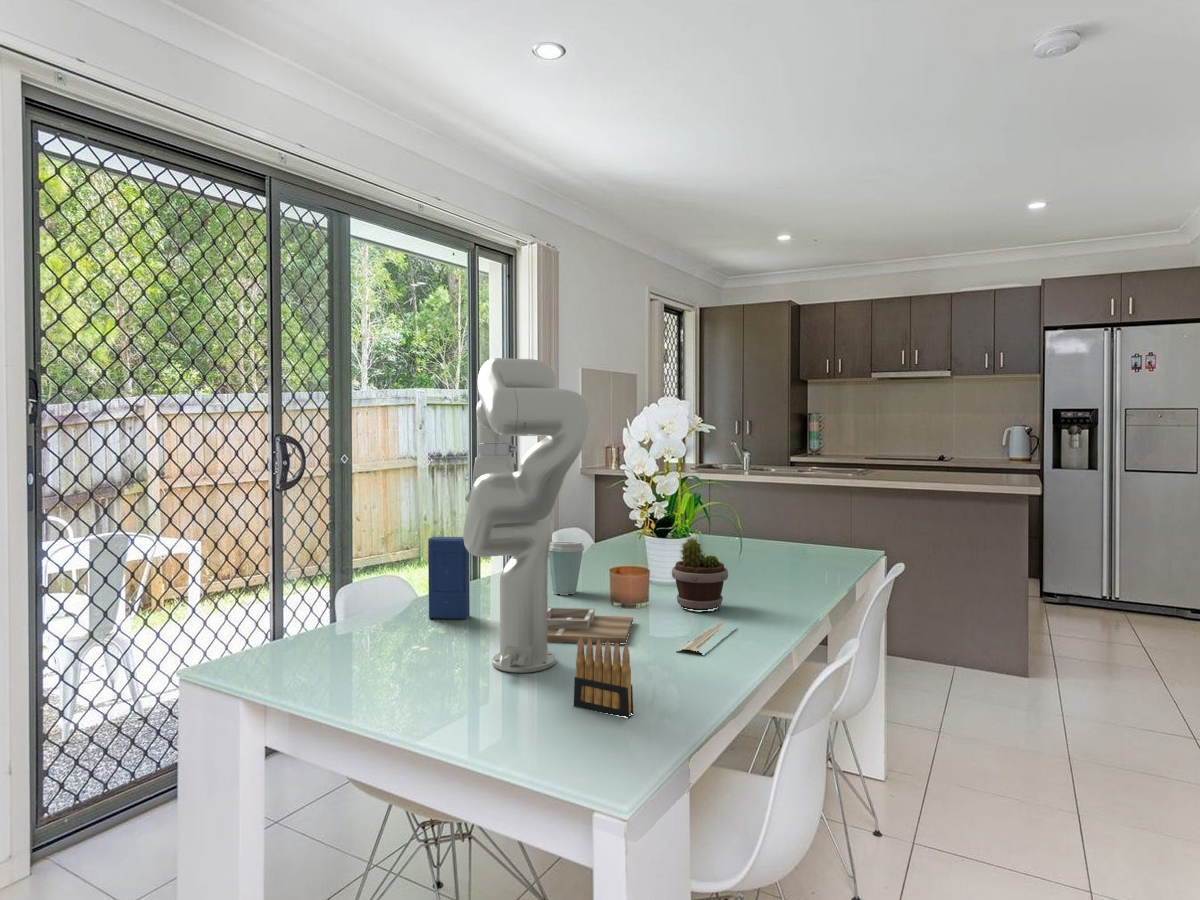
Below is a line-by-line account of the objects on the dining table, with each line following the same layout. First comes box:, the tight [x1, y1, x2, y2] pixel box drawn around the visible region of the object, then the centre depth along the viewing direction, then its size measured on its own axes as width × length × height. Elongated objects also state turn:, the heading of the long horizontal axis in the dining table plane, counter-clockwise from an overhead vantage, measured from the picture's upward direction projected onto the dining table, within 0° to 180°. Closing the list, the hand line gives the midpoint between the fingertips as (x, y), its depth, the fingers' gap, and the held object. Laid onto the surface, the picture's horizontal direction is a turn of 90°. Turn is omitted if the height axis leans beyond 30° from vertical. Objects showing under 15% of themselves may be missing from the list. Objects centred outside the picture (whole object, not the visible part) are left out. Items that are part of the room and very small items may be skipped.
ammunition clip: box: [573, 636, 634, 717], centre depth 122 cm, size 11×2×12 cm, turn 59°
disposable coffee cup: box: [548, 540, 585, 596], centre depth 208 cm, size 11×11×15 cm
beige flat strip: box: [678, 622, 727, 653], centre depth 163 cm, size 24×7×2 cm, turn 152°
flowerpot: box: [671, 534, 729, 610], centre depth 191 cm, size 14×15×20 cm
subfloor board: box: [548, 606, 634, 644], centre depth 169 cm, size 18×22×4 cm
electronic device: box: [427, 536, 471, 620], centre depth 182 cm, size 10×5×20 cm, turn 84°
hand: (495, 528), depth 169 cm, fingers closed on handle, 4 cm apart
